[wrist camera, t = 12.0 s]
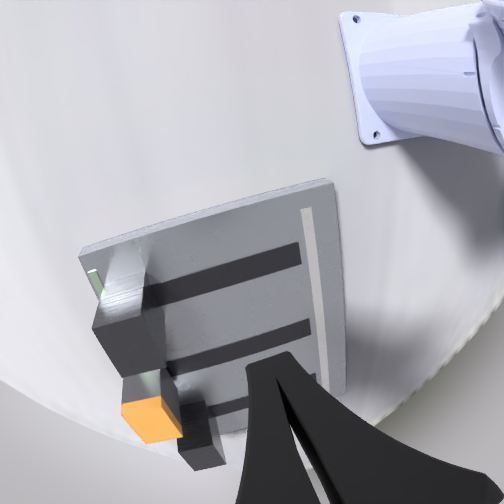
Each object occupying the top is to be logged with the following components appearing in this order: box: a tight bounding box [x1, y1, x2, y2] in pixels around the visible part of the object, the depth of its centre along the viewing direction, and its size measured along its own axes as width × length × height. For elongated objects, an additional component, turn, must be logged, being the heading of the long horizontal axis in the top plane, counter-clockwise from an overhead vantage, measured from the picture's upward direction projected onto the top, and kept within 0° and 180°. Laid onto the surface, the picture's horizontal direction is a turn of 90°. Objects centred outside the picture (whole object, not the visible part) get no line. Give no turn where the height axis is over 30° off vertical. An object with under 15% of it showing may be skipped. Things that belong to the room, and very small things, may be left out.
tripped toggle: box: [121, 368, 183, 444], centre depth 17 cm, size 2×3×4 cm
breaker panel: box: [78, 178, 346, 471], centre depth 19 cm, size 14×18×5 cm
